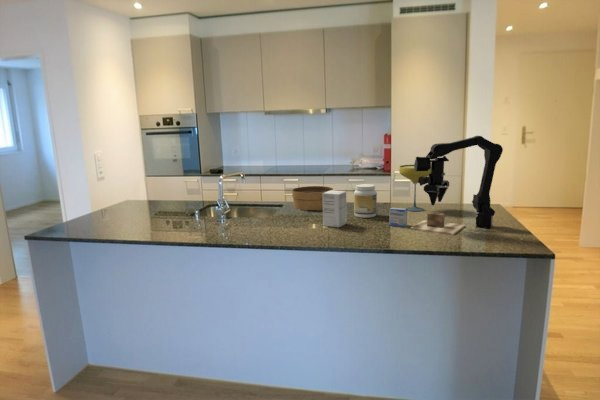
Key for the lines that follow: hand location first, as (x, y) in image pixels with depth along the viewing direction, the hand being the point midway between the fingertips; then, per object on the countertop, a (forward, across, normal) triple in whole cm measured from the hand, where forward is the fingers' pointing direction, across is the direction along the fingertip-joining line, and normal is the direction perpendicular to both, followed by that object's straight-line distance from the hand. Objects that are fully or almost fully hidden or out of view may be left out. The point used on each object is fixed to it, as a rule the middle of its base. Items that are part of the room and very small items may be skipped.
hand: (436, 203), depth 200 cm
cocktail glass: (+12, -34, -24) cm, 43 cm away
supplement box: (+12, +19, -45) cm, 50 cm away
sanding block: (+11, 0, 0) cm, 11 cm away
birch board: (+12, 0, +1) cm, 12 cm away
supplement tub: (+12, -6, -41) cm, 43 cm away
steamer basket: (+12, -13, -81) cm, 83 cm away
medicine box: (+12, +5, -17) cm, 21 cm away
